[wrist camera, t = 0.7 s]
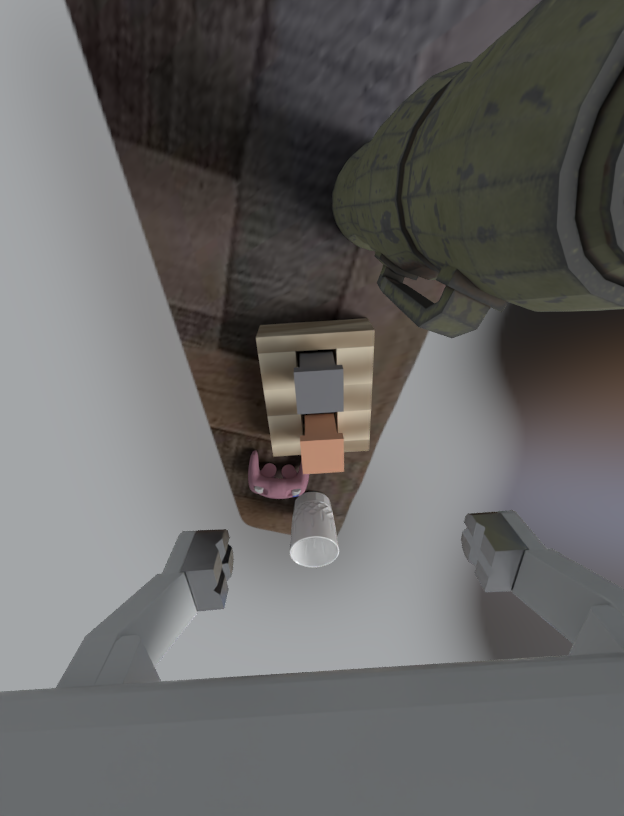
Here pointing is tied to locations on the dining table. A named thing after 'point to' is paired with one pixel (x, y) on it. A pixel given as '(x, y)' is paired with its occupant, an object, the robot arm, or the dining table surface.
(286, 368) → the socket block
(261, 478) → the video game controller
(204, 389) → the dining table surface
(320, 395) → the charcoal plug
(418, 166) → the thermos
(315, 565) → the white cup
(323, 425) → the terracotta plug
